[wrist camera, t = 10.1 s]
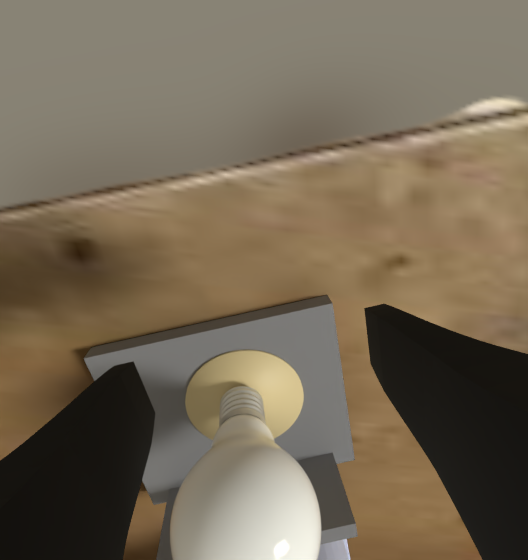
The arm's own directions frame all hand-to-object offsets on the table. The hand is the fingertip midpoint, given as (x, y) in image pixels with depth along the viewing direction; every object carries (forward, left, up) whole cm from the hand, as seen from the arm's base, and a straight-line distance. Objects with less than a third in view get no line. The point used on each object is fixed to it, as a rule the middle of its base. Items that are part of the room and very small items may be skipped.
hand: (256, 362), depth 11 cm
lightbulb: (-8, +2, -9) cm, 13 cm away
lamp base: (-10, +3, -10) cm, 15 cm away
